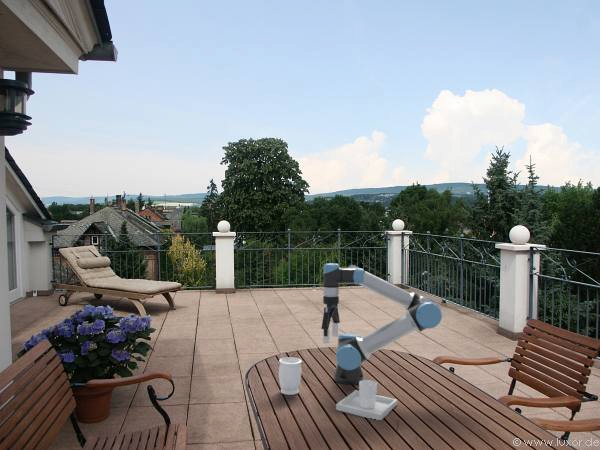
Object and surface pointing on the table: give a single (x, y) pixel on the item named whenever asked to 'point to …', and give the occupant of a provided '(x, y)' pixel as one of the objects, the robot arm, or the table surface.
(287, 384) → the jar
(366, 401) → the white cup
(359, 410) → the grey tray
